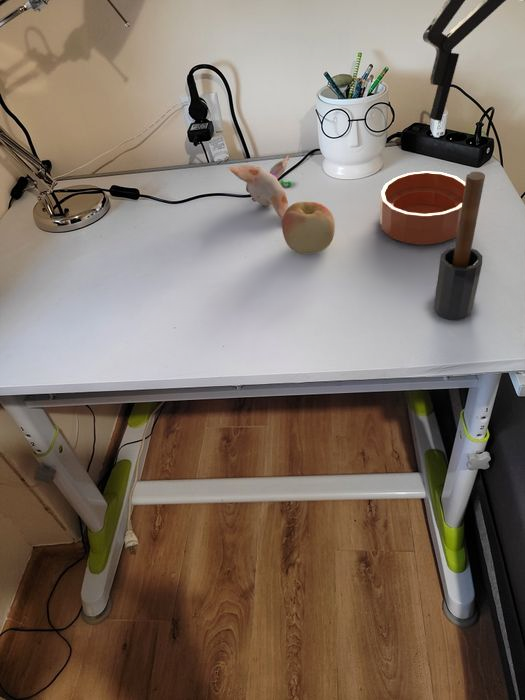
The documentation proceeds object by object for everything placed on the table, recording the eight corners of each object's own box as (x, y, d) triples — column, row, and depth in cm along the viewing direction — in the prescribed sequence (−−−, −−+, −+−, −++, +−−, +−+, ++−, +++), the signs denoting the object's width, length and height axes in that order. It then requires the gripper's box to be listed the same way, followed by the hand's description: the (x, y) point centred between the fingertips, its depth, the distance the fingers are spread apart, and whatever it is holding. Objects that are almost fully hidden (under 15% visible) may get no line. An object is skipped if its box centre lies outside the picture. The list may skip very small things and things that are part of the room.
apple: (281, 239, 92) (276, 199, 86) (330, 230, 91) (328, 190, 86) (288, 267, 85) (283, 226, 80) (340, 258, 85) (339, 216, 80)
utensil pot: (478, 306, 73) (490, 254, 67) (458, 325, 71) (468, 274, 64) (446, 292, 76) (454, 241, 70) (426, 310, 74) (432, 260, 67)
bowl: (482, 217, 88) (488, 185, 84) (434, 257, 82) (438, 225, 78) (411, 194, 96) (413, 164, 92) (363, 229, 90) (363, 199, 86)
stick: (463, 304, 73) (488, 174, 59) (455, 312, 72) (479, 181, 58) (450, 299, 74) (472, 169, 60) (442, 306, 73) (463, 177, 59)
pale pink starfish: (239, 154, 104) (212, 186, 94) (262, 127, 99) (235, 158, 89) (291, 205, 108) (270, 241, 98) (316, 181, 103) (296, 217, 93)
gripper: (681, -92, 50) (587, 137, 61) (431, -125, 50) (381, 109, 61) (737, -115, 44) (621, 146, 54) (449, -152, 44) (390, 115, 54)
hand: (494, 127), depth 58 cm, fingers open, 13 cm apart
